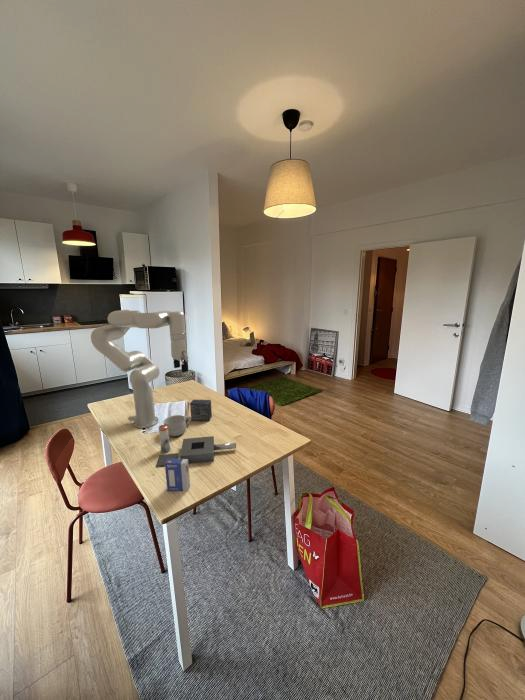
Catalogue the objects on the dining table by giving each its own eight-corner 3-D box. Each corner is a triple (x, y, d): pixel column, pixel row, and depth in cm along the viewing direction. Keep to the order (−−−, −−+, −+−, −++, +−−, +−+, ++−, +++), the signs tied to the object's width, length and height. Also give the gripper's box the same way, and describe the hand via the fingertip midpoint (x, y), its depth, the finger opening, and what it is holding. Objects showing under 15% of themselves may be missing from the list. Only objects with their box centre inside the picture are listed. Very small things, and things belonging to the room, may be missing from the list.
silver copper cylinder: (160, 453, 130) (157, 429, 127) (161, 448, 134) (159, 425, 131) (169, 452, 130) (167, 428, 128) (170, 447, 134) (168, 424, 132)
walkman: (167, 491, 106) (164, 462, 103) (169, 486, 109) (167, 457, 106) (188, 491, 106) (186, 462, 103) (190, 486, 109) (188, 458, 106)
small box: (212, 416, 166) (211, 399, 163) (209, 421, 160) (208, 404, 157) (194, 415, 167) (193, 398, 164) (190, 420, 161) (189, 403, 158)
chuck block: (180, 464, 122) (179, 456, 121) (184, 446, 135) (183, 438, 134) (237, 458, 125) (237, 450, 125) (235, 441, 139) (234, 434, 138)
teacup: (166, 440, 140) (165, 425, 138) (163, 431, 150) (161, 416, 148) (194, 433, 146) (193, 419, 145) (189, 424, 156) (188, 411, 154)
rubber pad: (155, 467, 120) (155, 465, 120) (159, 456, 128) (159, 454, 128) (175, 465, 121) (175, 463, 121) (178, 454, 129) (177, 453, 129)
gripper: (164, 335, 147) (167, 367, 151) (177, 340, 134) (180, 375, 137) (178, 333, 151) (181, 364, 155) (192, 337, 138) (195, 372, 142)
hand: (181, 369), depth 146 cm, fingers open, 9 cm apart
